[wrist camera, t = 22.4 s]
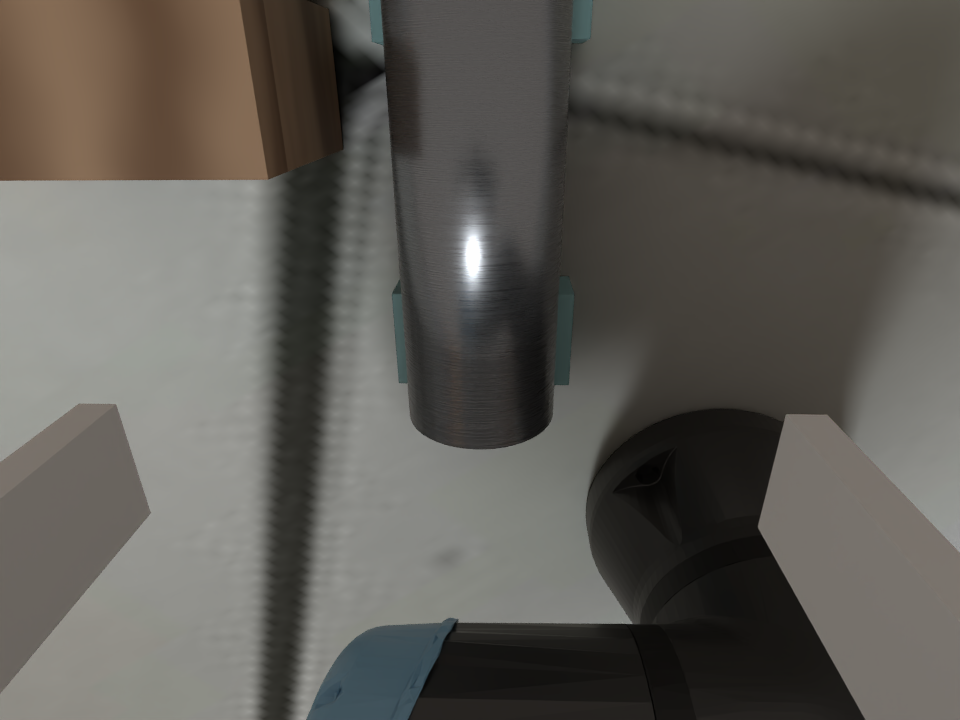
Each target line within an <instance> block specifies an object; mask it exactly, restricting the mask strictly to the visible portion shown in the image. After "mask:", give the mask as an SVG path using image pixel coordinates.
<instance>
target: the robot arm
mask: <svg viewBox="0 0 960 720" xmlns="http://www.w3.org/2000/svg"><path fill="white" fill-rule="evenodd" d="M150 513H151V512H150V509H149V506H148V503H147V500H146V497H145V494H144V490H143V487H142V484H141V481H140V478H139V475H138V472H137V469H136V465H135V462H134V459H133V456H132V453H131V450H130V447H129V443H128V440H127V437H126V434H125V431H124V428H123V425H122V421H121V418H120V415H119V412H118V409H117V406H116V404H78V405H77V406H75V407H74V408H73V409H71V410H70V411H69V412H67V413H66V414H65V415H63V416H62V417H61V418H59V419H58V420H57V421H55V422H54V423H53V424H51V425H50V426H48V427H47V428H46V429H44V430H43V431H42V432H40V433H39V434H38V435H36V436H35V437H34V438H32V439H31V440H30V441H28V442H27V443H26V444H24V445H23V446H22V447H20V448H19V449H18V450H16V451H15V452H14V453H12V454H11V455H10V456H8V457H7V458H6V459H4V460H3V461H2V462H0V693H1V692H2V691H3V690H4V688H5V687H6V686H7V685H8V684H9V682H10V681H11V680H12V679H13V678H14V676H15V675H16V674H17V673H18V672H19V670H20V669H21V668H22V667H23V666H24V664H25V663H26V662H27V661H28V660H29V658H30V657H31V656H32V655H33V654H34V652H35V651H36V650H37V649H38V648H39V646H40V645H41V644H42V643H43V642H44V640H45V639H46V638H47V637H48V636H49V634H50V633H51V632H52V631H53V630H54V628H55V627H56V626H57V625H58V624H59V622H60V621H61V620H62V619H63V618H64V616H65V615H66V614H67V613H68V612H69V610H70V609H71V608H72V607H73V606H74V604H75V603H76V602H77V601H78V600H79V599H80V597H81V596H82V595H83V594H84V593H85V591H86V590H87V589H88V588H89V587H90V585H91V584H92V583H93V582H94V581H95V579H96V578H97V577H98V576H99V575H100V573H101V572H102V571H103V570H104V569H105V567H106V566H107V565H108V564H109V563H110V561H111V560H112V559H113V558H114V557H115V555H116V554H117V553H118V552H119V551H120V549H121V548H122V547H123V546H124V545H125V543H126V542H127V541H128V540H129V539H130V537H131V536H132V535H133V534H134V533H135V531H136V530H137V529H138V528H139V527H140V525H141V524H142V523H143V522H144V521H145V519H146V518H147V517H148V516H149V515H150ZM586 525H587V531H588V536H589V542H590V548H591V552H592V556H593V558H594V561H595V564H596V566H597V568H598V571H599V573H600V574H601V576H602V578H603V579H604V581H605V582H606V584H607V585H608V587H609V588H610V590H611V591H612V593H613V594H614V596H615V597H616V599H617V600H618V602H619V603H620V605H621V606H622V608H623V609H624V611H625V612H626V614H627V615H628V617H629V618H630V620H631V622H632V623H633V624H556V623H458V619H455V618H448V619H446V620H444V621H443V622H442V623H429V624H408V625H388V626H380V627H375V628H372V629H370V630H367V631H365V632H364V633H362V634H361V635H359V636H358V637H356V638H355V639H354V640H353V641H352V642H351V643H350V644H349V645H348V646H347V647H346V648H345V649H344V650H343V651H342V652H341V654H340V655H339V656H338V658H337V659H336V661H335V662H334V664H333V665H332V667H331V668H330V670H329V672H328V674H327V675H326V677H325V679H324V681H323V683H322V685H321V687H320V689H319V691H318V693H317V696H316V698H315V700H314V703H313V705H312V708H311V710H310V712H309V714H308V716H307V719H306V720H960V553H959V552H958V551H957V550H956V548H955V547H954V546H953V545H952V544H951V543H950V542H949V541H948V540H947V539H946V538H945V537H944V536H943V535H942V534H941V533H940V532H939V531H938V530H937V529H936V528H935V527H934V526H933V524H932V523H931V522H930V521H929V520H928V519H927V518H926V517H925V516H924V515H923V514H922V513H921V512H920V511H919V510H918V509H917V508H916V507H915V506H914V505H913V504H912V503H911V502H910V501H909V499H908V498H907V497H906V496H905V495H904V494H903V493H902V492H901V491H900V490H899V489H898V488H897V487H896V486H895V485H894V484H893V483H892V482H891V481H890V480H889V479H888V478H887V477H886V475H885V474H884V473H883V472H882V471H881V470H880V469H879V468H878V467H877V466H876V465H875V464H874V463H873V462H872V461H871V460H870V459H869V458H868V457H867V456H866V455H865V454H864V453H863V451H862V450H861V449H860V448H859V447H858V446H857V445H856V444H855V443H854V442H853V441H852V440H851V439H850V438H849V437H848V436H847V435H846V434H845V433H844V432H843V431H842V430H841V429H840V428H839V426H838V425H837V424H836V423H835V422H834V421H833V420H832V419H831V418H830V417H829V416H828V415H810V414H786V416H785V420H784V423H782V422H780V421H778V420H776V419H773V418H771V417H768V416H765V415H761V414H757V413H753V412H748V411H741V410H729V409H716V410H704V411H697V412H692V413H687V414H683V415H679V416H676V417H673V418H670V419H667V420H664V421H662V422H659V423H657V424H655V425H653V426H651V427H649V428H647V429H645V430H643V431H641V432H640V433H638V434H637V435H635V436H634V437H632V438H631V439H629V440H628V441H627V442H625V443H624V444H623V445H622V446H621V447H620V448H618V449H617V450H616V451H615V452H614V453H613V454H612V455H611V457H610V458H609V459H608V460H607V461H606V463H605V464H604V465H603V467H602V468H601V469H600V471H599V473H598V474H597V476H596V478H595V480H594V482H593V484H592V487H591V489H590V492H589V496H588V500H587V506H586Z"/></svg>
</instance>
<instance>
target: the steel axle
mask: <svg viewBox="0 0 960 720" xmlns="http://www.w3.org/2000/svg"><path fill="white" fill-rule="evenodd" d="M573 1H574V0H380V3H381V17H382V31H383V45H384V58H385V72H386V86H387V100H388V114H389V128H390V142H391V156H392V170H393V184H394V198H395V212H396V226H397V240H398V254H399V268H400V282H401V296H402V310H403V324H404V338H405V352H406V366H407V380H408V394H409V408H410V418H411V421H412V423H413V425H414V426H415V427H416V429H417V430H418V431H420V432H421V433H422V434H423V435H425V436H426V437H428V438H430V439H432V440H434V441H436V442H439V443H442V444H445V445H449V446H453V447H459V448H466V449H495V448H502V447H508V446H512V445H516V444H519V443H522V442H525V441H527V440H529V439H531V438H533V437H535V436H537V435H538V434H540V433H541V432H542V431H543V430H544V429H545V428H546V427H547V426H548V425H549V423H550V422H551V419H552V415H553V398H554V378H555V358H556V338H557V319H558V299H559V279H560V259H561V239H562V219H563V200H564V180H565V160H566V140H567V120H568V100H569V81H570V61H571V41H572V21H573Z"/></svg>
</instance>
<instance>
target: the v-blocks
mask: <svg viewBox="0 0 960 720" xmlns="http://www.w3.org/2000/svg"><path fill="white" fill-rule="evenodd" d="M592 4H593V0H574V1H573V21H572V41H571V43H583V42H585V41H587V40H589V39H590V36H591V20H592ZM369 8H370V21H371V34H372V42H374V43H378V44H381V45H383V31H382V17H381V3H380V0H369ZM392 300H393V313H394V326H395V339H396V351H397V364H398V377H399V383H408V380H407V366H406V352H405V338H404V324H403V310H402V296H401V282H400V280H399V282H398V284H397V286H396V287H395V289H394V291H393V293H392ZM573 308H574V292H573V289H572V286H571V282H570V279H569V276H560V279H559V299H558V319H557V338H556V358H555V378H554V385H569V372H570V356H571V340H572V324H573Z"/></svg>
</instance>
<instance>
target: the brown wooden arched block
mask: <svg viewBox="0 0 960 720" xmlns="http://www.w3.org/2000/svg"><path fill="white" fill-rule="evenodd" d="M340 150H343V142H342V133H341V123H340V114H339V104H338V95H337V85H336V76H335V66H334V56H333V47H332V37H331V28H330V18H329V9H327V8H324V7H322V6H320V5H317V4H315V3H312V2H310V1H307V0H0V181H12V180H268V179H271V178H273V177H276V176H278V175H281V174H283V173H286V172H288V171H291V170H293V169H296V168H298V167H301V166H303V165H306V164H308V163H311V162H313V161H316V160H318V159H321V158H323V157H326V156H328V155H330V154H333V153H335V152H338V151H340Z"/></svg>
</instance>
